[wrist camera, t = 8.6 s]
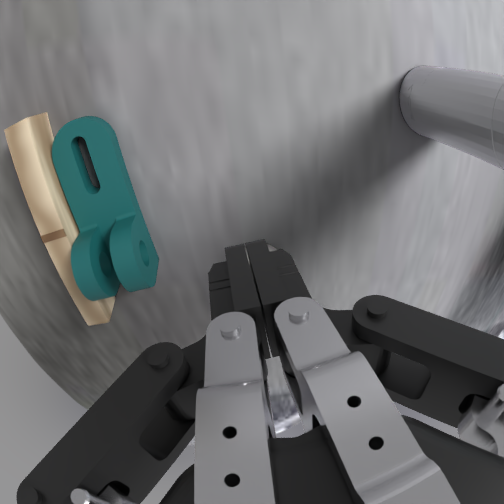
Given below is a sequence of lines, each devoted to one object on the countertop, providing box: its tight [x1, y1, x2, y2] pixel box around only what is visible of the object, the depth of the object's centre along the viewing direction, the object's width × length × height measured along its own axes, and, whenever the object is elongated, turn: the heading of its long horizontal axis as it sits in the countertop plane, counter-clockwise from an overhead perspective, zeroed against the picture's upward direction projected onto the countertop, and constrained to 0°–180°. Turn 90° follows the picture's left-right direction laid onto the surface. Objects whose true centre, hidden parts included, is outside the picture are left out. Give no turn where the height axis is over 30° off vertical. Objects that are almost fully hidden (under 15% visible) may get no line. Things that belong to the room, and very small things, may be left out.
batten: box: [4, 112, 115, 326], centre depth 28 cm, size 3×24×5 cm, turn 9°
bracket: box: [52, 116, 159, 301], centre depth 27 cm, size 18×7×8 cm, turn 11°
